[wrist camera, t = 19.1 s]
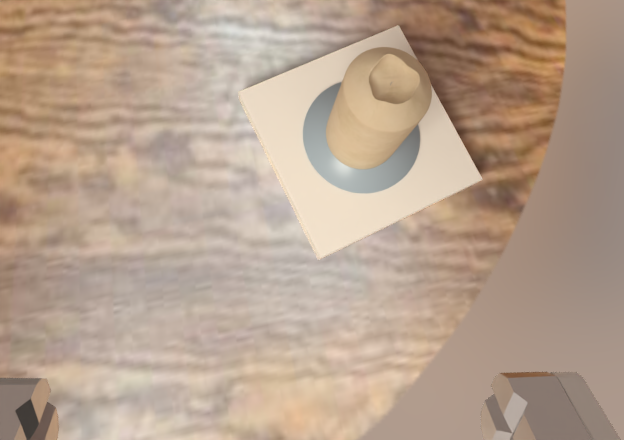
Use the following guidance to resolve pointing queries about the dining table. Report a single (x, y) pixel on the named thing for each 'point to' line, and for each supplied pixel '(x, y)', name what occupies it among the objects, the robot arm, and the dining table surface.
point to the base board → (335, 175)
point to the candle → (377, 107)
